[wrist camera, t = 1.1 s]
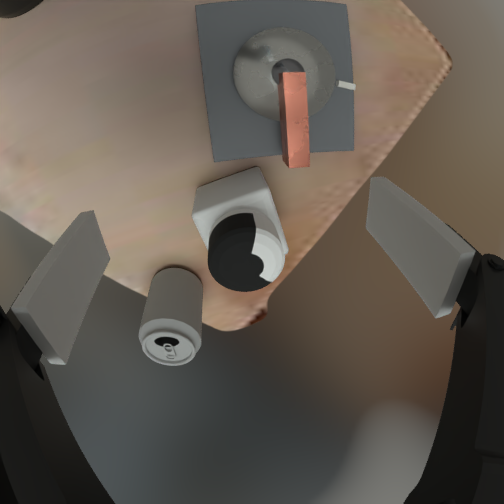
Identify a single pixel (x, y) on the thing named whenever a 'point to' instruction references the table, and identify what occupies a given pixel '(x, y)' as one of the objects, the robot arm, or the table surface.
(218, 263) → the container
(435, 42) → the table surface
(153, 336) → the can
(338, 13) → the plate
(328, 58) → the dial
